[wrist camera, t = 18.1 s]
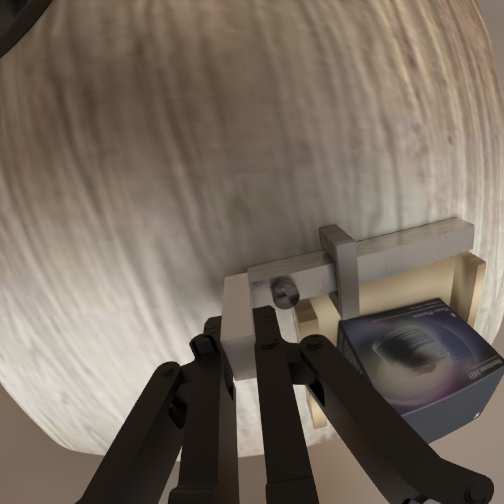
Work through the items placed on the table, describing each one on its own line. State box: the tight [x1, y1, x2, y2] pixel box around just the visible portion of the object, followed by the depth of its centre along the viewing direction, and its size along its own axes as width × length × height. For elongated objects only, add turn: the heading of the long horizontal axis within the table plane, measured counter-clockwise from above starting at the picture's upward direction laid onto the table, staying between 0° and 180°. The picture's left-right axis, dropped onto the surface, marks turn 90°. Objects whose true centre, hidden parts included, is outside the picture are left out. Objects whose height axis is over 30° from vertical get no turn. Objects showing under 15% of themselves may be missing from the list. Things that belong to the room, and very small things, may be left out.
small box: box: [336, 298, 504, 444], centre depth 17 cm, size 11×6×10 cm, turn 97°
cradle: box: [292, 225, 486, 429], centre depth 20 cm, size 18×16×4 cm
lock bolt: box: [247, 217, 474, 309], centre depth 18 cm, size 2×18×3 cm, turn 103°
